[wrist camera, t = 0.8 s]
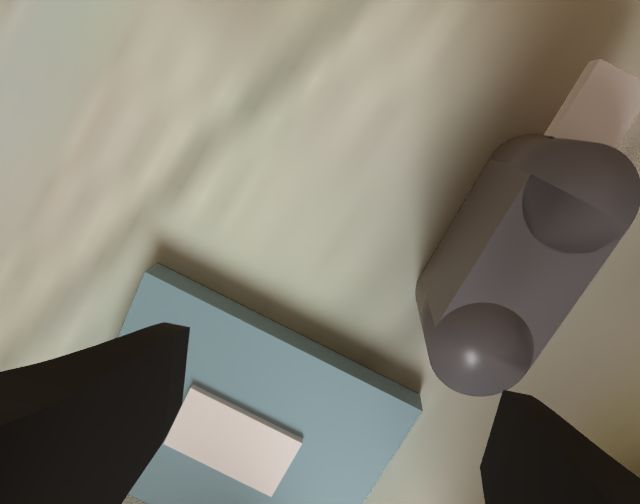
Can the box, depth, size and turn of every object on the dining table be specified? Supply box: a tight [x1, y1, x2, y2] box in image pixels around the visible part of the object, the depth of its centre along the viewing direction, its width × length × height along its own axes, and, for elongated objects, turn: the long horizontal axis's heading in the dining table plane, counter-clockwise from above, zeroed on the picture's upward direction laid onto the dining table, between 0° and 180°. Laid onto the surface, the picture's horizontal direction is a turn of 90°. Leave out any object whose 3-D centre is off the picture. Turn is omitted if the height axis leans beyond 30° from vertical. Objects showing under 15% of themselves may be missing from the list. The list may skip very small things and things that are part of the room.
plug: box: [416, 59, 640, 396], centre depth 16 cm, size 3×10×5 cm, turn 153°
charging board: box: [118, 263, 423, 504], centre depth 21 cm, size 12×10×2 cm
